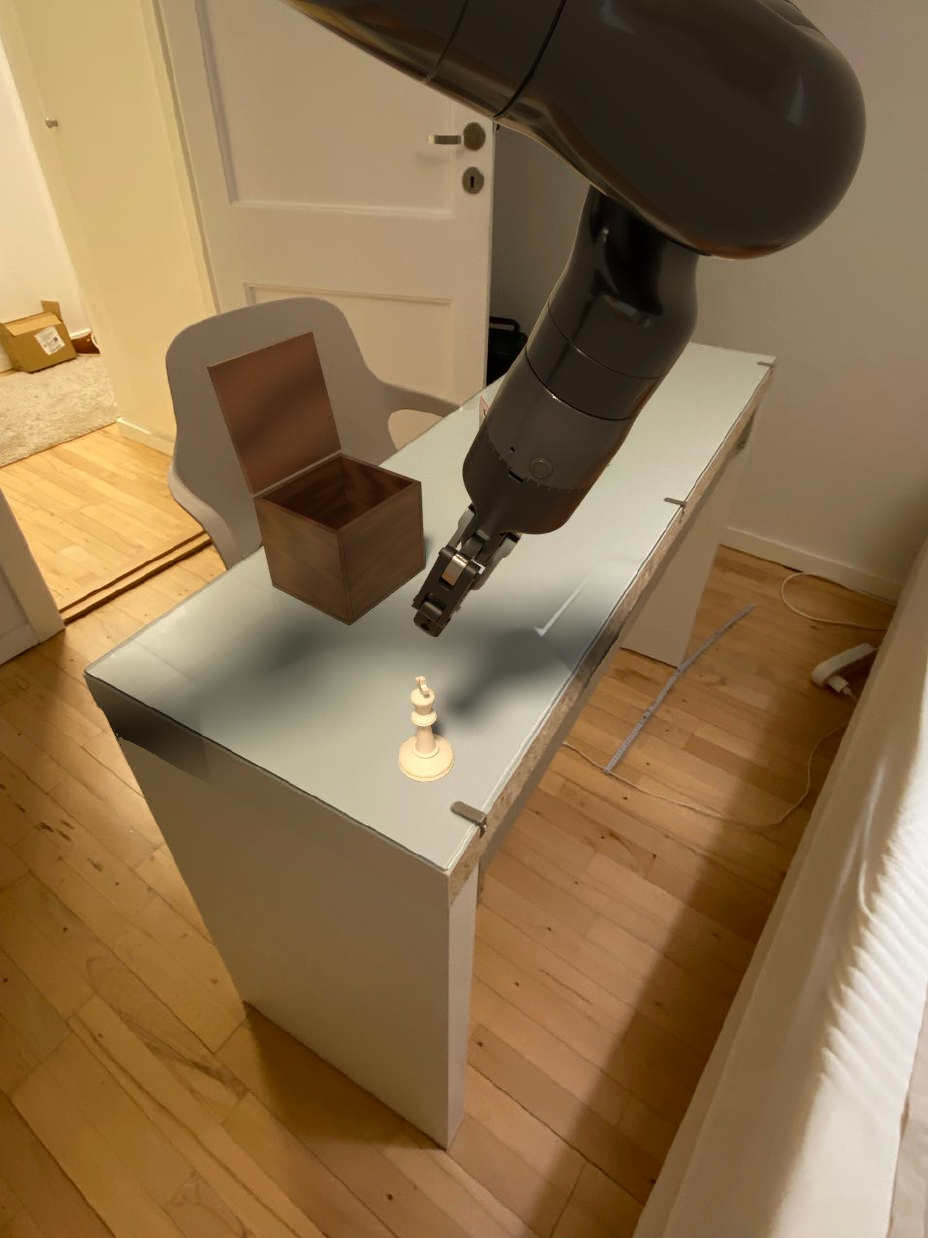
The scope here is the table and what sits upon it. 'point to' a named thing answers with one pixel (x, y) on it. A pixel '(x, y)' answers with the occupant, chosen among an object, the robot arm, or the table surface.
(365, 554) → the bin
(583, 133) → the robot arm
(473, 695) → the table surface
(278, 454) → the bin lid
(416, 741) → the chess piece
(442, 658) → the table surface
